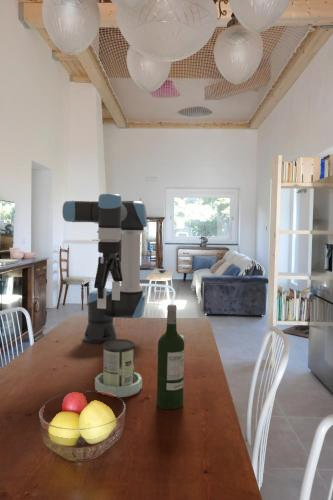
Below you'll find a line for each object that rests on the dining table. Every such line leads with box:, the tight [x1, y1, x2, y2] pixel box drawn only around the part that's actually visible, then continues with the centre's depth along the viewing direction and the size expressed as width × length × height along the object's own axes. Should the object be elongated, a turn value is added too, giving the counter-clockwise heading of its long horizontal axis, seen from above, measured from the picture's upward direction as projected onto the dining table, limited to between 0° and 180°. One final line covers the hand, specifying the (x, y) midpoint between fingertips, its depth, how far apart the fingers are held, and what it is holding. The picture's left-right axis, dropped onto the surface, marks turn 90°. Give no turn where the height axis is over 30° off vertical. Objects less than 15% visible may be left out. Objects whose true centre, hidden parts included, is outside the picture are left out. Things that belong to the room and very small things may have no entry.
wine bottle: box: [156, 303, 185, 410], centre depth 115 cm, size 8×8×30 cm
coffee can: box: [102, 338, 136, 387], centre depth 127 cm, size 10×10×14 cm
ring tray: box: [94, 371, 143, 398], centre depth 127 cm, size 15×15×3 cm
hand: (109, 304), depth 130 cm, fingers open, 13 cm apart
